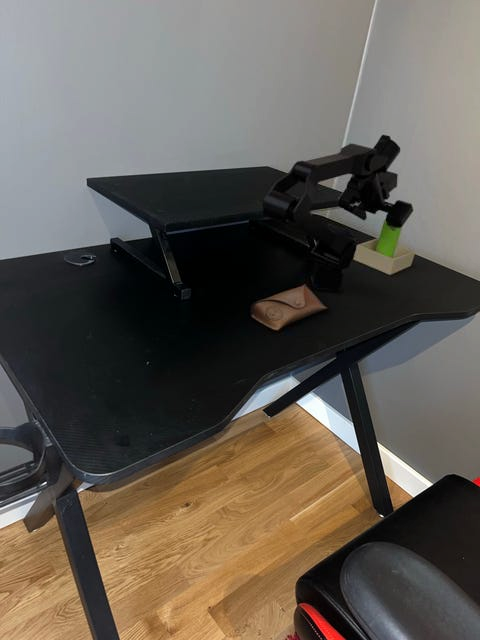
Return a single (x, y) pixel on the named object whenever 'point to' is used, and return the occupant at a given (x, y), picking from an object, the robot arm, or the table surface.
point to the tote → (383, 257)
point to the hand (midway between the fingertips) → (379, 224)
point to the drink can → (388, 241)
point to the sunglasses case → (286, 307)
